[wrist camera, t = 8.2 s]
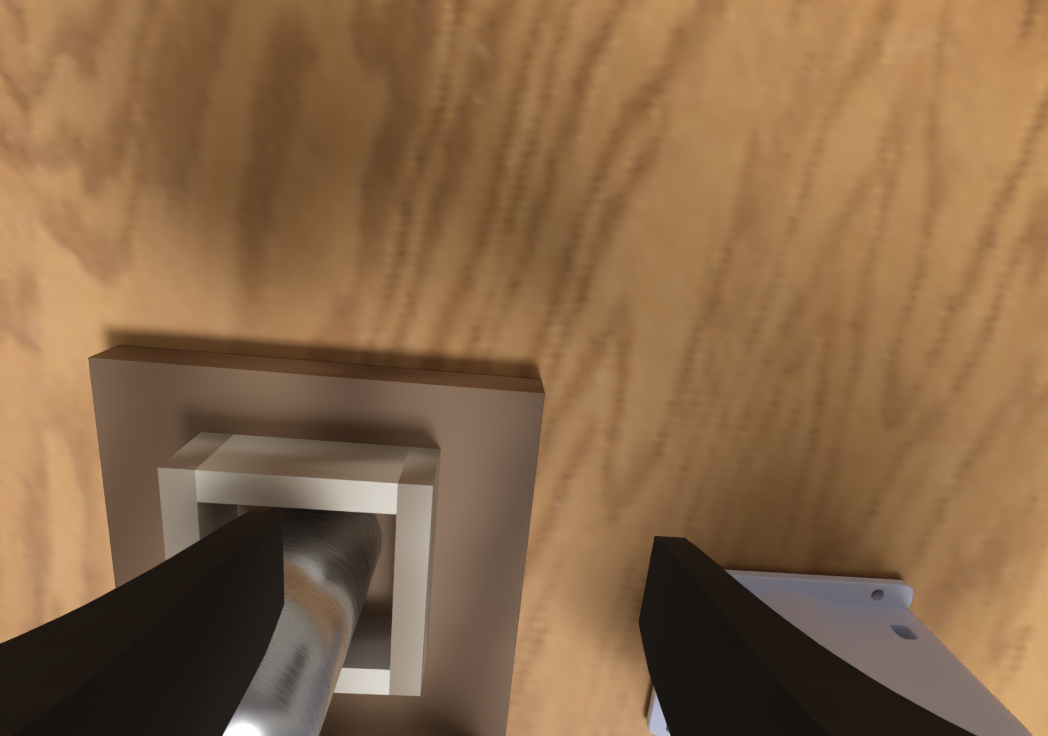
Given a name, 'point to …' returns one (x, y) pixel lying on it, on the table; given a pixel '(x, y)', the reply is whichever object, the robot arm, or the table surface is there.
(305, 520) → the steel peg
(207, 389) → the socket stand
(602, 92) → the table surface
